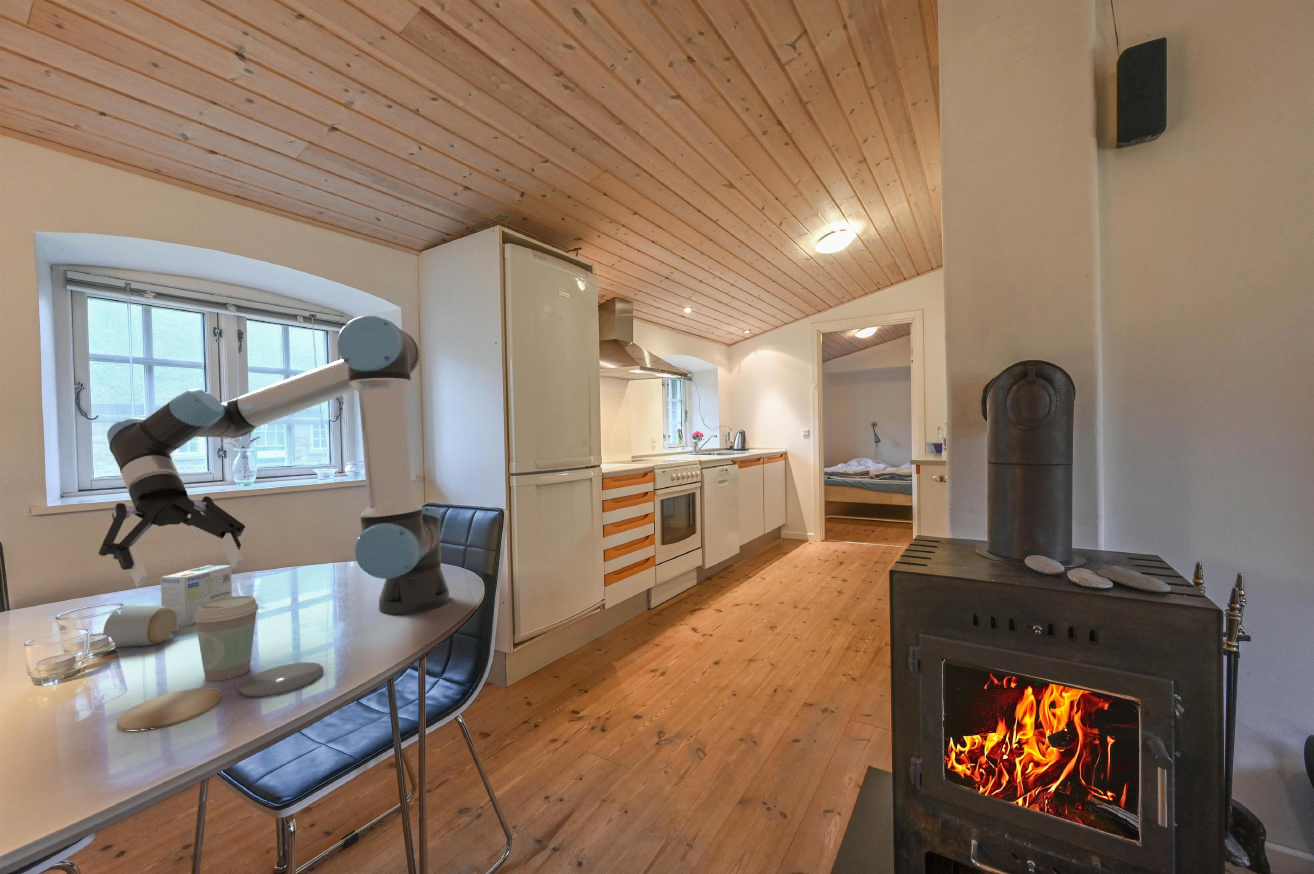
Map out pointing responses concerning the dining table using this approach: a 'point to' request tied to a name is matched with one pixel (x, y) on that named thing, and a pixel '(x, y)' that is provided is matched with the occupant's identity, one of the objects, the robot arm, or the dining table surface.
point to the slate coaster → (281, 679)
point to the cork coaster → (169, 709)
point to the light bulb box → (195, 590)
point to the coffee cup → (226, 636)
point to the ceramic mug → (141, 625)
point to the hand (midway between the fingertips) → (193, 572)
